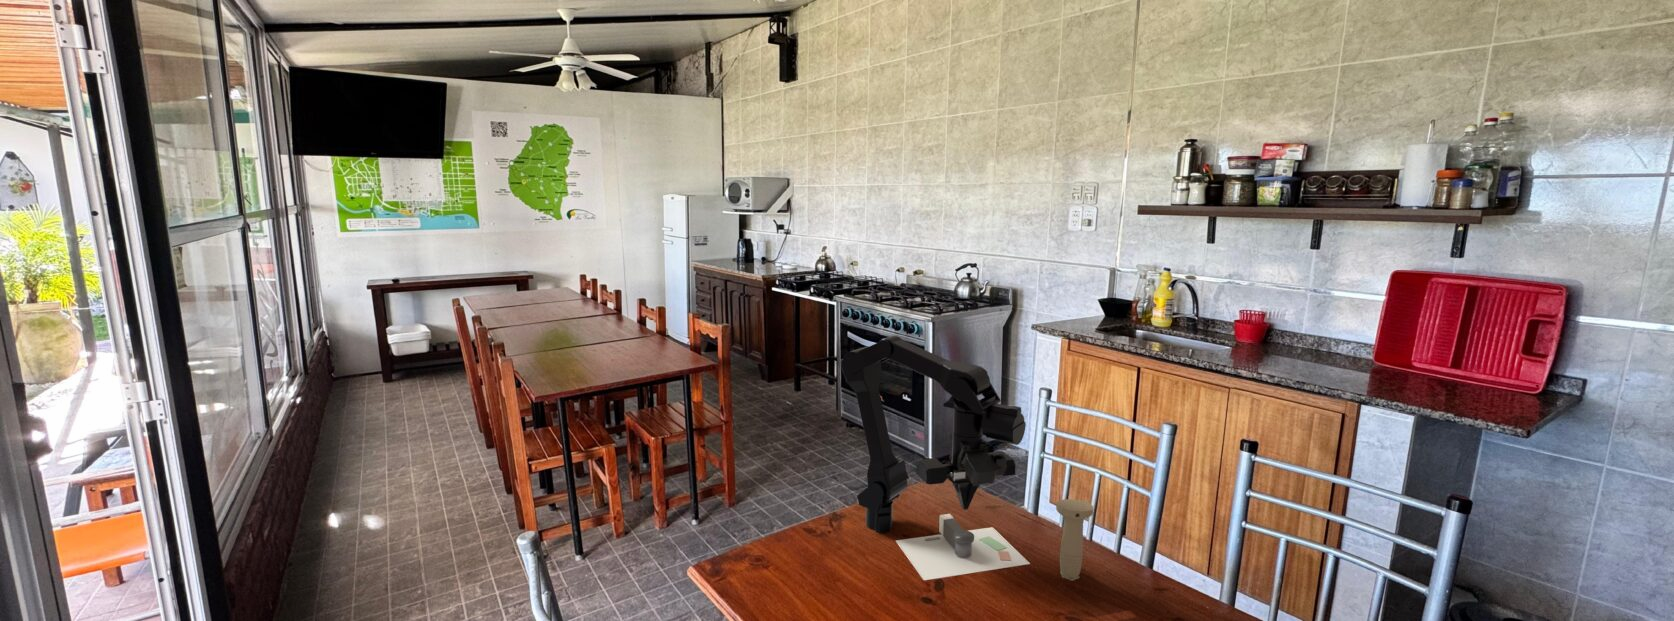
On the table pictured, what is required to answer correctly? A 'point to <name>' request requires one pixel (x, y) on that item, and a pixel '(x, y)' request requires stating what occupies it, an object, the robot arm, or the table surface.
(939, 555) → the board
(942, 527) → the grey round-headed bar
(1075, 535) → the handle
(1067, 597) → the table surface
